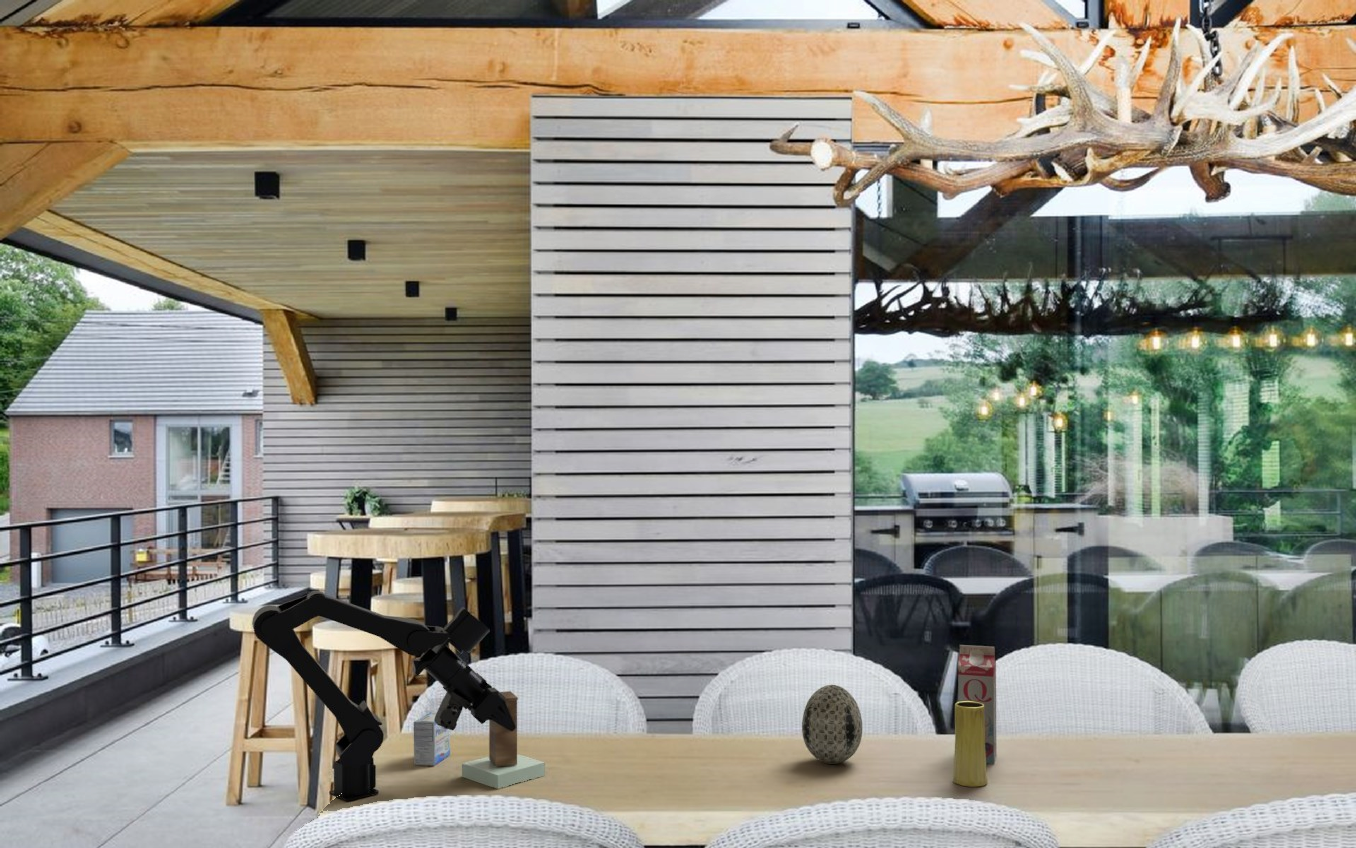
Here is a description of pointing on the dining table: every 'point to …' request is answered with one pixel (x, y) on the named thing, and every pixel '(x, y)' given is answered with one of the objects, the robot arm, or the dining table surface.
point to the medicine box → (430, 741)
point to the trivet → (503, 771)
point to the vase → (969, 744)
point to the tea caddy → (504, 736)
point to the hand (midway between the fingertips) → (510, 725)
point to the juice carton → (980, 688)
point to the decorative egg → (832, 725)
